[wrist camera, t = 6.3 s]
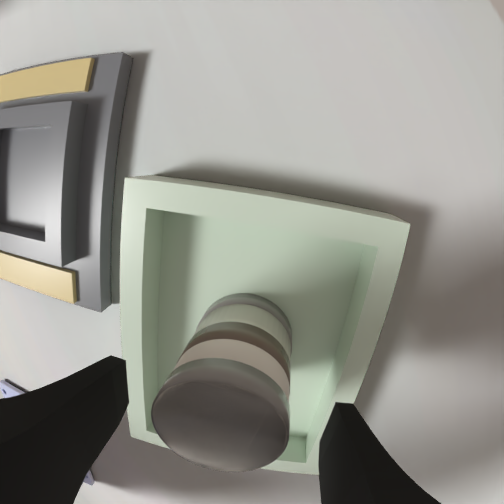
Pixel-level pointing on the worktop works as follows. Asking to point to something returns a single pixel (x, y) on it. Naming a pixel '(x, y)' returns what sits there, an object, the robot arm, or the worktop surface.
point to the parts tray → (255, 289)
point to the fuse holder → (61, 175)
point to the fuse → (230, 388)
